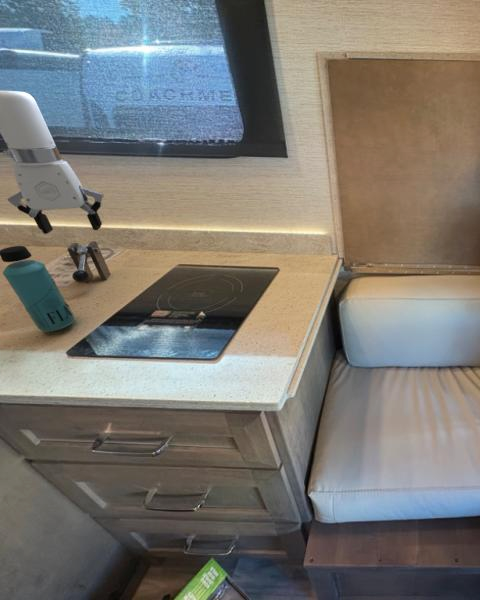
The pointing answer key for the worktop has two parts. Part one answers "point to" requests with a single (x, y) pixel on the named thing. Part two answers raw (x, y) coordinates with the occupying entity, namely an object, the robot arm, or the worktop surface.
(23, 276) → the beverage bottle
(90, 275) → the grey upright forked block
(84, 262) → the tap lever
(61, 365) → the worktop surface
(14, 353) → the worktop surface
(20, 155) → the robot arm
